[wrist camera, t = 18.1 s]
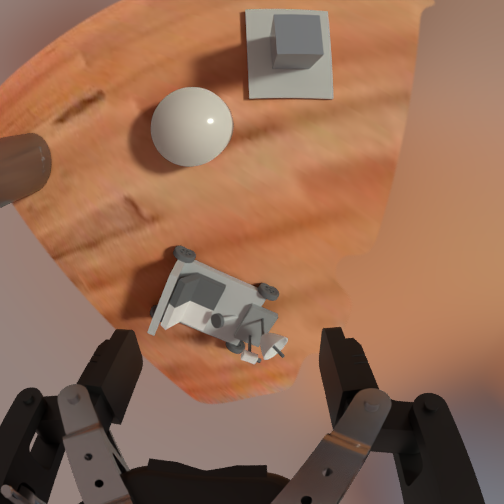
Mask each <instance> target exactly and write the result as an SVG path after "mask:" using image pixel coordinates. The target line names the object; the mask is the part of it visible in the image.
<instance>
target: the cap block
mask: <svg viewBox="0 0 504 504" xmlns="http://www.w3.org/2000/svg"><path fill="white" fill-rule="evenodd" d="M270 44H271V57H272V69H310V68H311V67H312V66H313V65H314V64H315V63H316V62H317V61H318V60H319V59H320V58H321V57H322V56H323V55H324V51H323V41H322V32H321V23H320V15H300V14H274V15H273V21H272V27H271V32H270Z"/></svg>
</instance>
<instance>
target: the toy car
mask: <svg viewBox="0 0 504 504" xmlns="http://www.w3.org/2000/svg"><path fill="white" fill-rule="evenodd" d="M173 255H174V256H175V257H176V258H177V259H178V260H177V262H176V264H175V266H174V268H173V269H172V271H171V273H170V275H169V278H168V280H167V283H166V285H165V288H164V290H163V293H162V296H161V298H160V301H159V303H158V305H155V306H153V307H152V308H151V310H150V315H151V317H152V318H153V319H152V322H151V324H150V327H149V330H148V332H147V333H149V334H151V335H153V336H154V335H155V332H156V330H157V328H158V325H159V323H160V322H161V326H162V327H163V328H164V329H165V330H166V329H168V328H170V327H171V326H173V325H175V324H177V323H179V322H180V323H182V324H185V325H187V326H189V327H192V328H194V329H196V330H199V331H201V332H204V333H206V334H208V335H211V336H213V337H216V338H218V339H221V340H223V341H226V347H227V348H228V349H229V350H230V351H231V352H233V353H236V354H240V353H242V354H241V360H244V361H247V362H249V363H252V364H255V363H256V362H258V363H260V362H261V359H260V358H258V354H255V353H252V352H251V344H252V345H254V346H257V347H259V345H260V347H261V351H262V355H263V358H264V360H268V359H270V358H272V357H273V356H275V355H276V354H277V353H278V354H279V355H280V356H281V357H282V358H283V357H284V356H285V355H284V354H283V353H282V352H281V350H282V349H283V347H284V346H285V345H286V343H287V341H288V338H286V337H284V336H281V335H278V334H274V333H268V332H269V330H270V329H271V328H272V326H273V325H274V323H275V322H276V320H277V319H278V314H277V313H275V312H272V311H270V310H268V309H265V308H263V307H261V306H262V305H263V303H264V302H265V300H266V299H268V300H271V301H274V300H276V299H277V298H278V296H279V292H278V290H277V289H276V288H275V287H272V286H269V285H267V284H265V283H261V284H260V285H259V287H258V288H257V287H255V286H252V285H250V284H248V283H246V282H243V281H241V280H239V279H236V278H234V277H232V276H230V275H227V274H225V273H223V272H221V271H218V270H216V269H214V268H212V267H210V266H207V265H205V264H203V263H201V262H198V261H196V260H195V258H196V254H195V252H194V251H192V250H189V249H187V248H185V247H183V246H176V247H175V249H174V251H173ZM243 341H244V342H246V343H248V351H247V350H244V349H245V344H244V342H243Z"/></svg>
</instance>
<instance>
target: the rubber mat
mask: <svg viewBox="0 0 504 504" xmlns="http://www.w3.org/2000/svg"><path fill="white" fill-rule="evenodd" d="M245 13H246V35H247V57H248V80H249V99H260V98H312V99H333V76H332V58H331V44H330V31H329V20H328V11H315V10H298V9H247V10H245ZM274 14H300V15H320V23H321V32H322V41H323V51H324V55H323V56H322V57H321V58H320V59H319V60H318V61H317V62H316V63H315V64H314V65H313V66H312V67H311V68H310V69H272V57H271V44H270V32H271V27H272V21H273V15H274Z"/></svg>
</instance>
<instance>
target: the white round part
mask: <svg viewBox="0 0 504 504" xmlns="http://www.w3.org/2000/svg"><path fill="white" fill-rule="evenodd" d="M233 128H234V123H233V117H232V114H231V111H230V109H229V107H228V106H227V104H226V103H225V102H224V101H223V100H222V99H221V98H219V97H218V96H217V95H216V94H214V93H213V92H211V91H209V90H206V89H203V88H199V87H187V88H182V89H179V90H176V91H174V92H172V93H170V94H169V95H167V96H166V97H165V98H164V99H163V100H162V101H161V102H160V103H159V105H158V106H157V108H156V110H155V111H154V114H153V117H152V121H151V136H152V140H153V143H154V145H155V147H156V149H157V150H158V151H159V153H160V154H161V155H162V156H163V157H164V158H166V159H167V160H168V161H170V162H172V163H174V164H177V165H180V166H187V167H189V166H198V165H202V164H205V163H207V162H209V161H211V160H212V159H214V158H215V157H216V156H218V155H219V154H220V153H221V152H222V151H223V150H224V149H225V148H226V147H227V145H228V144H229V142H230V140H231V137H232V134H233Z"/></svg>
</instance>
